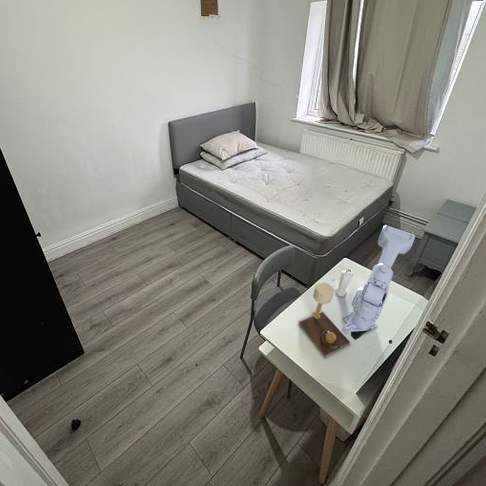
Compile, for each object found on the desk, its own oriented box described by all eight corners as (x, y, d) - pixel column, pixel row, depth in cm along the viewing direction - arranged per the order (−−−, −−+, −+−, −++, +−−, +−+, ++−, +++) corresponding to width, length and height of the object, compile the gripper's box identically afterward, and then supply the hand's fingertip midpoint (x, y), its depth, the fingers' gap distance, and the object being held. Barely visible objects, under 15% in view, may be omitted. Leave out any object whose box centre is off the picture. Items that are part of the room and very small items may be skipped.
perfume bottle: (337, 287, 132) (345, 264, 124) (346, 292, 130) (355, 268, 121) (333, 293, 129) (341, 270, 121) (343, 298, 127) (352, 275, 118)
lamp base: (321, 313, 121) (323, 308, 119) (349, 344, 110) (351, 339, 108) (298, 324, 117) (300, 319, 115) (324, 357, 106) (326, 352, 104)
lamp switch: (330, 333, 110) (331, 330, 109) (337, 341, 108) (338, 338, 106) (323, 337, 109) (324, 334, 108) (329, 345, 106) (331, 342, 105)
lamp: (317, 306, 120) (325, 279, 110) (328, 319, 115) (337, 291, 105) (304, 312, 118) (312, 285, 108) (315, 325, 113) (324, 297, 103)
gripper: (371, 296, 99) (360, 320, 106) (339, 311, 94) (330, 335, 102) (389, 312, 94) (376, 336, 101) (356, 328, 89) (345, 352, 96)
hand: (354, 336), depth 101 cm, fingers closed
